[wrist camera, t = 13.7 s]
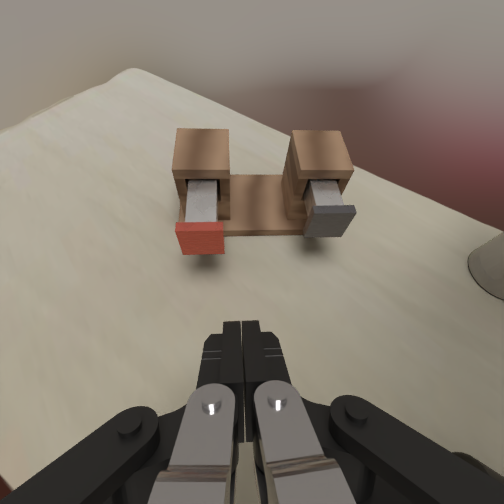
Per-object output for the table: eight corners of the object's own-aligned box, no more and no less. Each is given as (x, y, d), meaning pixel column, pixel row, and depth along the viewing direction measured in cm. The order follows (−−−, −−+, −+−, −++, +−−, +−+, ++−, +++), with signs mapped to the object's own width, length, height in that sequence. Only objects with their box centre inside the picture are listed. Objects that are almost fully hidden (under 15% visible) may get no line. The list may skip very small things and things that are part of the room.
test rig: (320, 180, 49) (343, 122, 39) (334, 234, 43) (366, 181, 33) (184, 180, 47) (171, 119, 36) (179, 236, 41) (161, 181, 30)
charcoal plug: (319, 160, 43) (329, 132, 39) (341, 236, 36) (356, 212, 31) (289, 160, 43) (295, 132, 38) (304, 237, 35) (314, 213, 31)
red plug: (223, 170, 41) (222, 141, 36) (224, 253, 33) (223, 230, 29) (189, 169, 40) (184, 140, 36) (183, 254, 33) (175, 231, 28)
